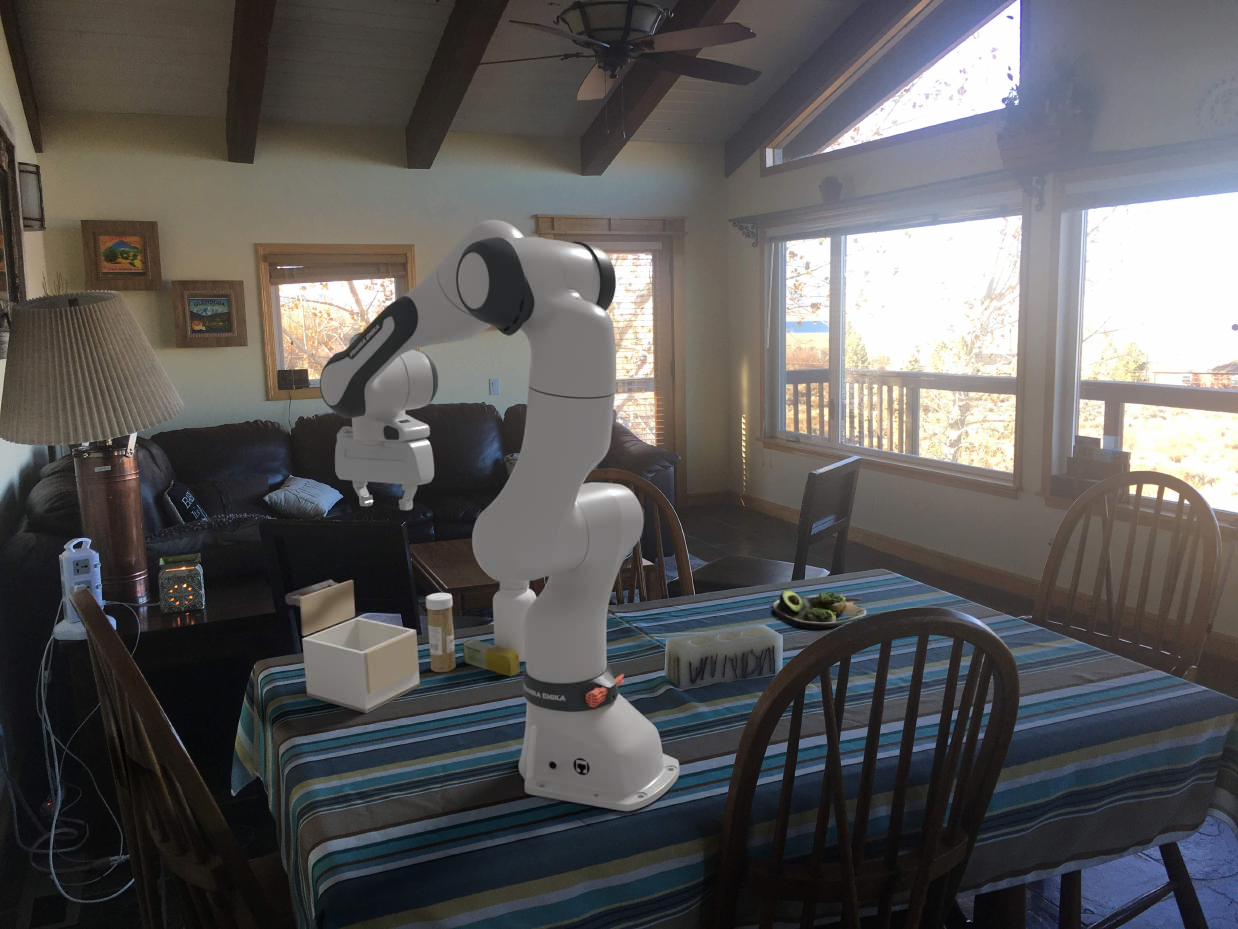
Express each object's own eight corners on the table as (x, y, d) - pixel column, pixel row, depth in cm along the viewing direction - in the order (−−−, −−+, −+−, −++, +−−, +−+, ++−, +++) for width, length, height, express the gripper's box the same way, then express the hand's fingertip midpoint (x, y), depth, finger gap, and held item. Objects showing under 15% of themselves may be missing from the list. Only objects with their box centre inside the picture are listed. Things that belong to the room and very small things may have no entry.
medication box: (462, 663, 168) (460, 642, 167) (473, 658, 170) (471, 637, 169) (510, 678, 160) (509, 656, 160) (521, 672, 162) (519, 651, 162)
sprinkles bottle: (460, 669, 164) (456, 596, 162) (436, 675, 162) (431, 601, 159) (450, 661, 168) (445, 590, 166) (426, 667, 165) (421, 595, 163)
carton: (422, 687, 157) (418, 630, 155) (368, 714, 147) (364, 654, 145) (361, 671, 164) (357, 617, 163) (307, 696, 154) (302, 638, 153)
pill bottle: (546, 657, 169) (543, 577, 166) (507, 667, 164) (503, 586, 162) (525, 644, 175) (522, 568, 173) (487, 654, 171) (483, 576, 168)
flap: (353, 580, 161) (331, 575, 164) (301, 597, 152) (279, 592, 155) (355, 616, 162) (333, 610, 165) (304, 636, 153) (282, 629, 156)
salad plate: (839, 596, 201) (840, 575, 200) (889, 621, 184) (890, 599, 183) (760, 607, 194) (760, 586, 193) (804, 635, 178) (804, 612, 177)
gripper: (322, 428, 159) (329, 506, 161) (410, 431, 149) (416, 515, 151) (350, 423, 165) (357, 500, 167) (437, 426, 154) (442, 508, 156)
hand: (386, 507), depth 159 cm, fingers open, 8 cm apart
